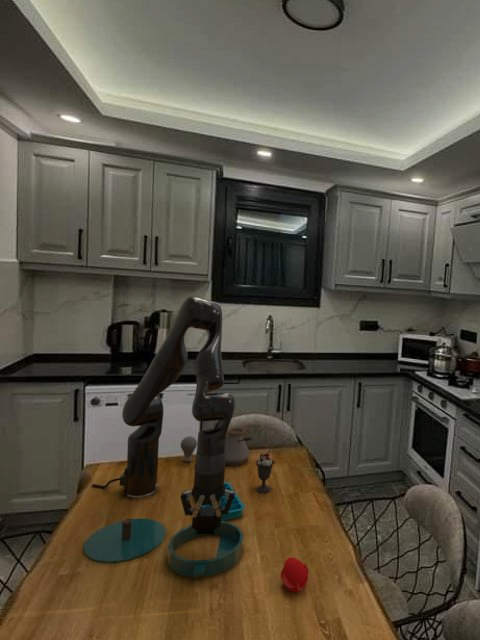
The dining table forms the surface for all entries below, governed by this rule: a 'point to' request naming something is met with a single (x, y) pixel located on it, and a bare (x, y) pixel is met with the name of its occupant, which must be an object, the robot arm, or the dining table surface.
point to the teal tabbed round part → (224, 560)
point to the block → (206, 521)
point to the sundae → (264, 471)
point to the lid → (124, 540)
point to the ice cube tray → (235, 506)
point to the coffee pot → (236, 447)
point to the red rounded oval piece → (294, 574)
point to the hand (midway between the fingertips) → (206, 527)
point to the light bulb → (188, 447)
